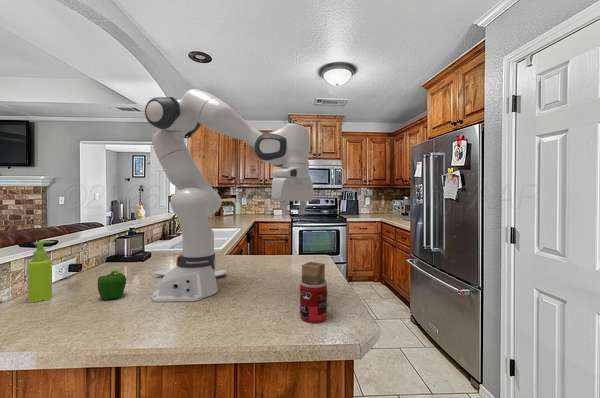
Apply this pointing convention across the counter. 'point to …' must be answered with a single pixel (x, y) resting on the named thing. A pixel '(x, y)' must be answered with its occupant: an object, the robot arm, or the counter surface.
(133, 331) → the counter surface
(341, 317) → the counter surface
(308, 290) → the canned food
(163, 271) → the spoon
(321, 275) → the walnut block
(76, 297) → the counter surface
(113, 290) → the bell pepper
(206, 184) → the robot arm
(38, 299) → the soap dispenser
